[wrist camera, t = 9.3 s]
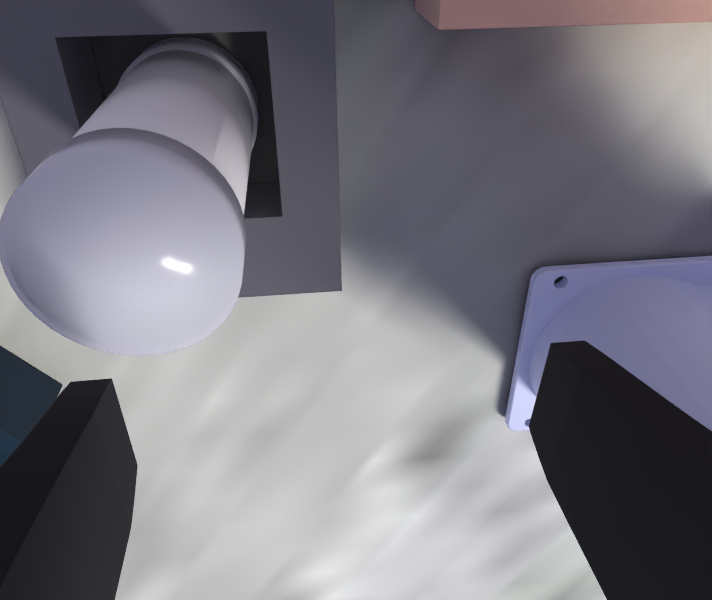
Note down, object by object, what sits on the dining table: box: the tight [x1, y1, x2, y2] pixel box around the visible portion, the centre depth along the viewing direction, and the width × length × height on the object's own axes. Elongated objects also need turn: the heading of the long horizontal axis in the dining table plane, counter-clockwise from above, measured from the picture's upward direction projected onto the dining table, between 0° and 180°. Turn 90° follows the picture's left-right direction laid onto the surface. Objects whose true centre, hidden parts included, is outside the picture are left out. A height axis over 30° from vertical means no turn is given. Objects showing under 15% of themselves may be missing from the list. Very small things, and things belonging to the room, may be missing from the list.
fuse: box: [0, 37, 259, 356], centre depth 13 cm, size 4×4×9 cm
